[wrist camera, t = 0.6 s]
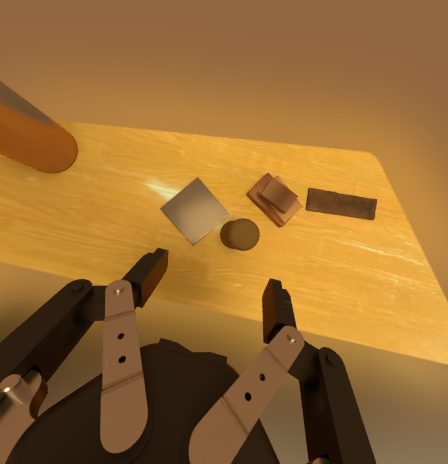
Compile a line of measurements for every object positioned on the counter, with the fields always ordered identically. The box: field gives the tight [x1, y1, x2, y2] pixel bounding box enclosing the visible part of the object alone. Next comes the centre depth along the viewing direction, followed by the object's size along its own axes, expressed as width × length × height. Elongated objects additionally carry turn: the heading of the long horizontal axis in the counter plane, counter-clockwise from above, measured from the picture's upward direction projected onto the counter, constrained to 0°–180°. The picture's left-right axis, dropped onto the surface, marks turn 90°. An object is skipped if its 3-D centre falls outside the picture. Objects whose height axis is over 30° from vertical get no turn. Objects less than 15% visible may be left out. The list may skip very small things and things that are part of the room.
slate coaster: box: [160, 178, 229, 245], centre depth 37 cm, size 10×10×1 cm
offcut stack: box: [247, 173, 303, 227], centre depth 37 cm, size 10×6×5 cm, turn 46°
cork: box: [220, 218, 260, 251], centre depth 33 cm, size 6×6×11 cm
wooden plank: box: [306, 188, 377, 220], centre depth 41 cm, size 17×1×5 cm
